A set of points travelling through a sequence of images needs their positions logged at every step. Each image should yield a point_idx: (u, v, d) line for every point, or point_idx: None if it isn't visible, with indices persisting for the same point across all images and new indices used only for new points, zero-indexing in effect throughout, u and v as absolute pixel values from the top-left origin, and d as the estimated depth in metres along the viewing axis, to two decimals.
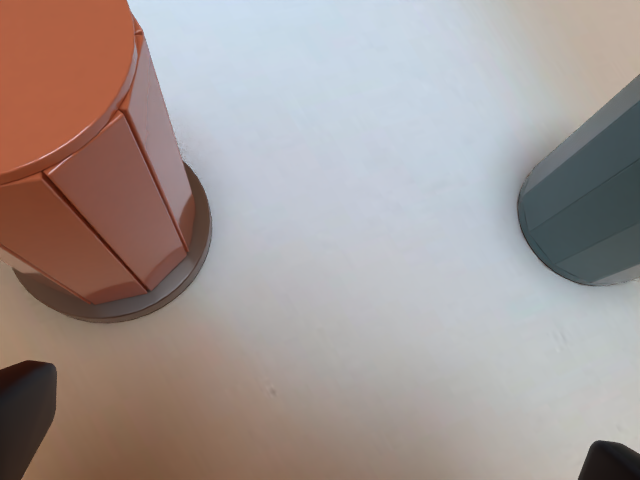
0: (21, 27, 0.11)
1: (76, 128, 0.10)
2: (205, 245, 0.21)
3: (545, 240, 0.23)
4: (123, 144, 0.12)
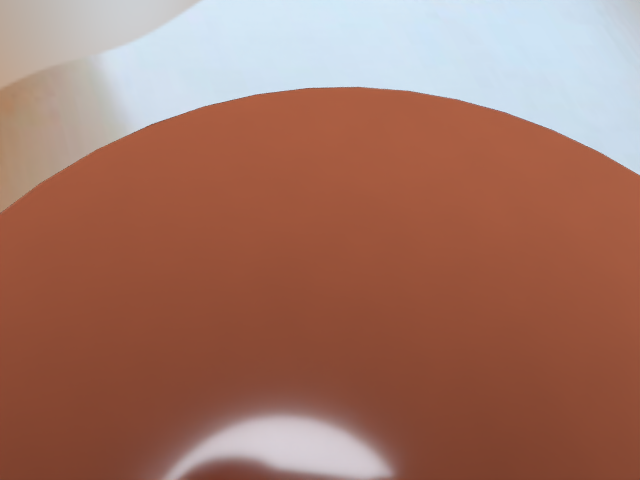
0: None
1: None
2: None
3: None
4: None
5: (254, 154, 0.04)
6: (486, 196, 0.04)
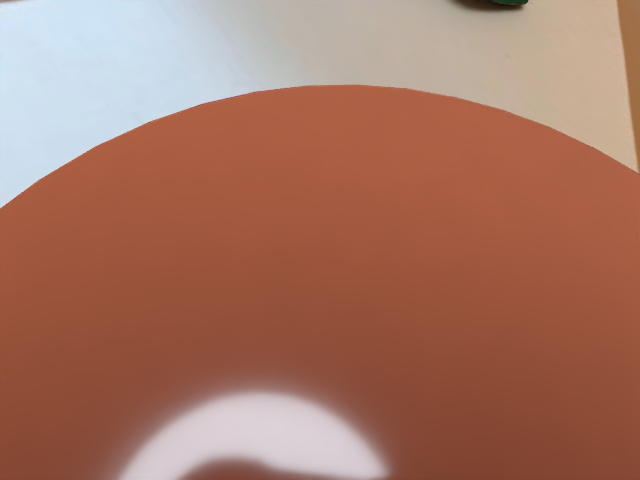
0: None
1: None
2: None
3: None
4: None
5: (252, 151, 0.04)
6: (484, 193, 0.04)
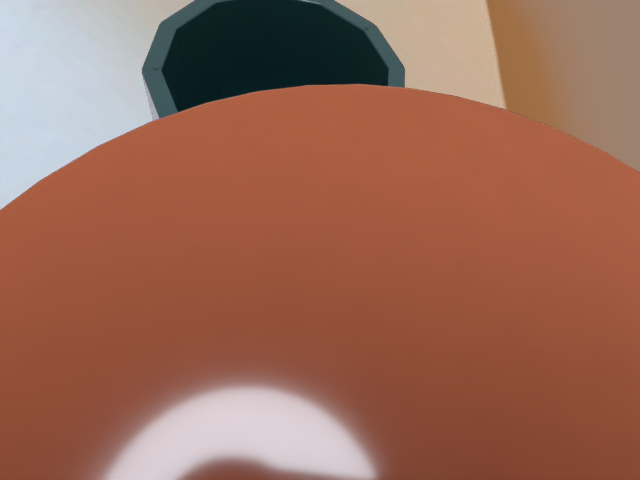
0: None
1: None
2: None
3: None
4: None
5: (255, 151, 0.04)
6: (486, 192, 0.04)
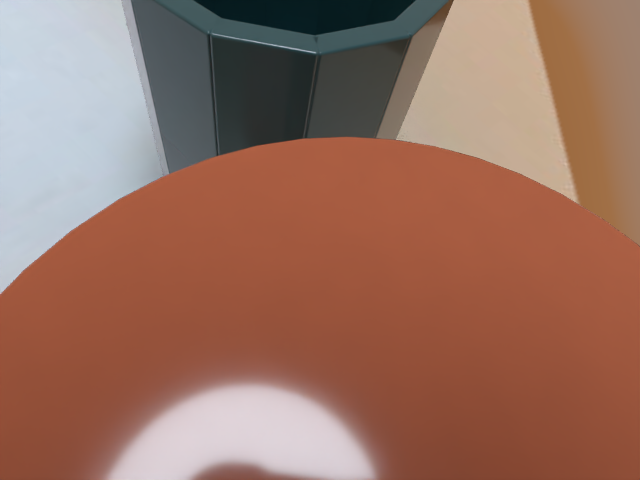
0: None
1: None
2: None
3: None
4: None
5: (255, 201, 0.04)
6: (458, 237, 0.04)
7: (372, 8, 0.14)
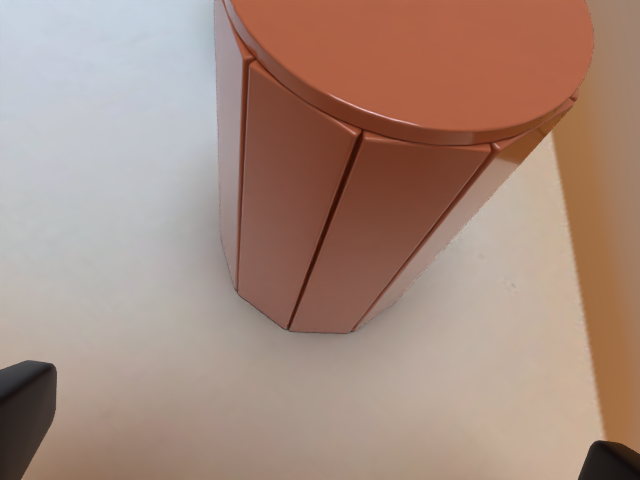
0: None
1: (546, 101, 0.08)
2: None
3: None
4: (537, 141, 0.09)
5: None
6: None
7: None
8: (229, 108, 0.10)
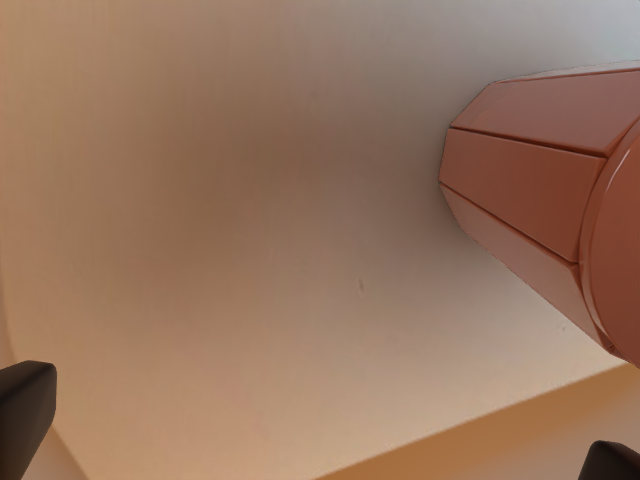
0: None
1: None
2: None
3: None
4: None
5: None
6: None
7: None
8: (578, 113, 0.11)
